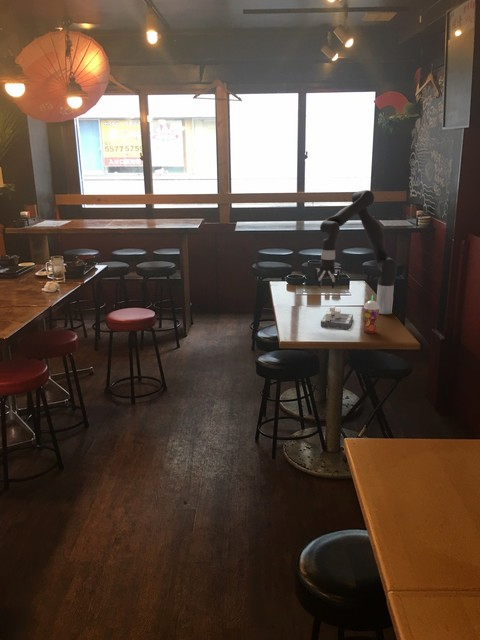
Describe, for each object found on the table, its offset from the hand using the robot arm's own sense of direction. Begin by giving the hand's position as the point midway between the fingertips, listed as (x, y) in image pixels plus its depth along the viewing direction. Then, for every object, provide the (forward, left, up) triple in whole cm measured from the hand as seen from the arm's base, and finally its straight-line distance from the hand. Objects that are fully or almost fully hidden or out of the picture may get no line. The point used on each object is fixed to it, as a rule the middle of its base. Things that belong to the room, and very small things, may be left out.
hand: (326, 287), depth 311 cm
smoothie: (-26, +11, -20) cm, 35 cm away
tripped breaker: (-7, 0, -16) cm, 18 cm away
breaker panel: (-7, 0, -20) cm, 21 cm away
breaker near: (-3, +6, -16) cm, 18 cm away
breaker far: (-3, -7, -16) cm, 18 cm away
